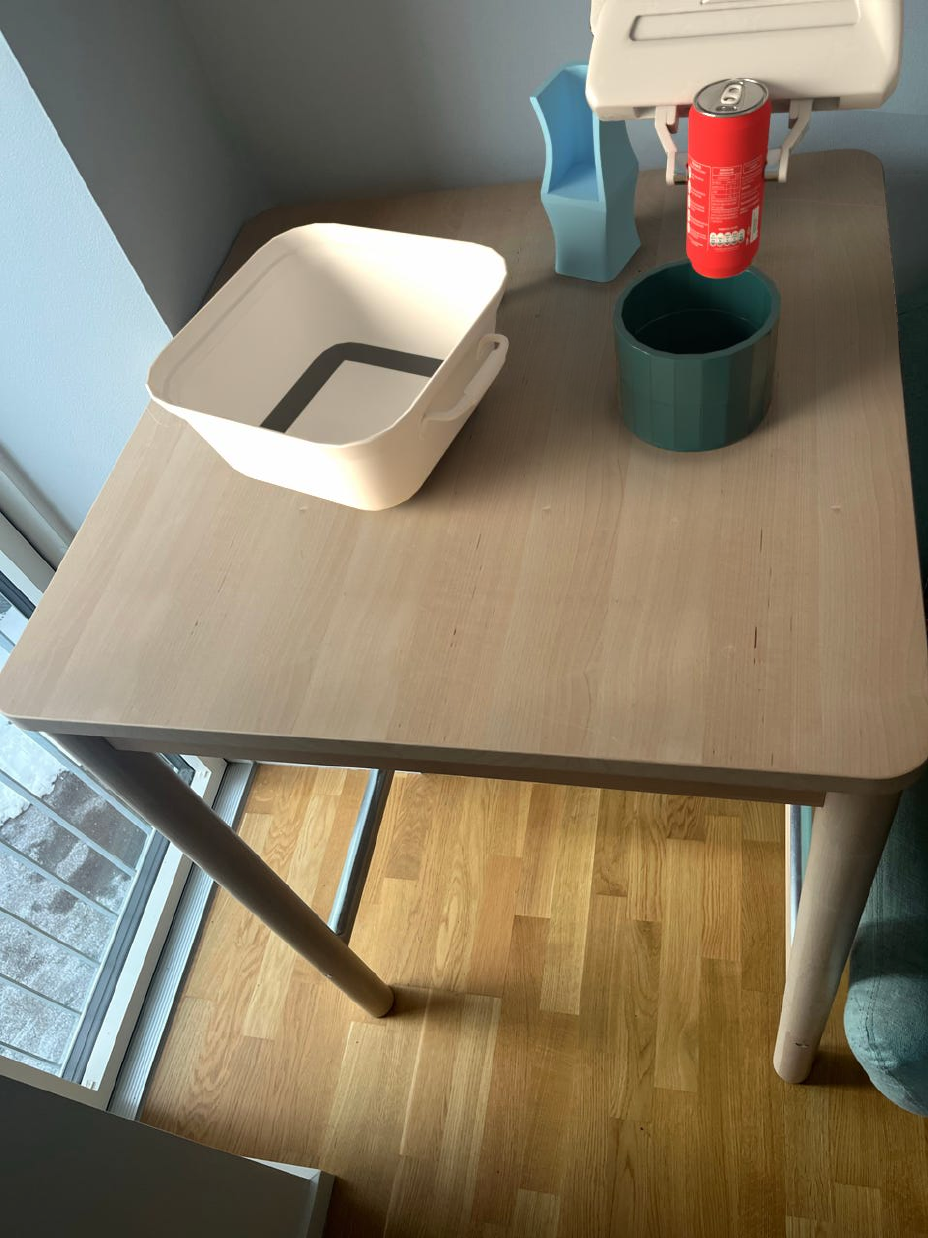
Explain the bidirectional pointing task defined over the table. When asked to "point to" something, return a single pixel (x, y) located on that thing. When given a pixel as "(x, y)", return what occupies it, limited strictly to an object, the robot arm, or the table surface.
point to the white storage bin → (340, 360)
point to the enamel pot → (695, 355)
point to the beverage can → (726, 175)
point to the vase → (586, 179)
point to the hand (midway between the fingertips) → (725, 181)
